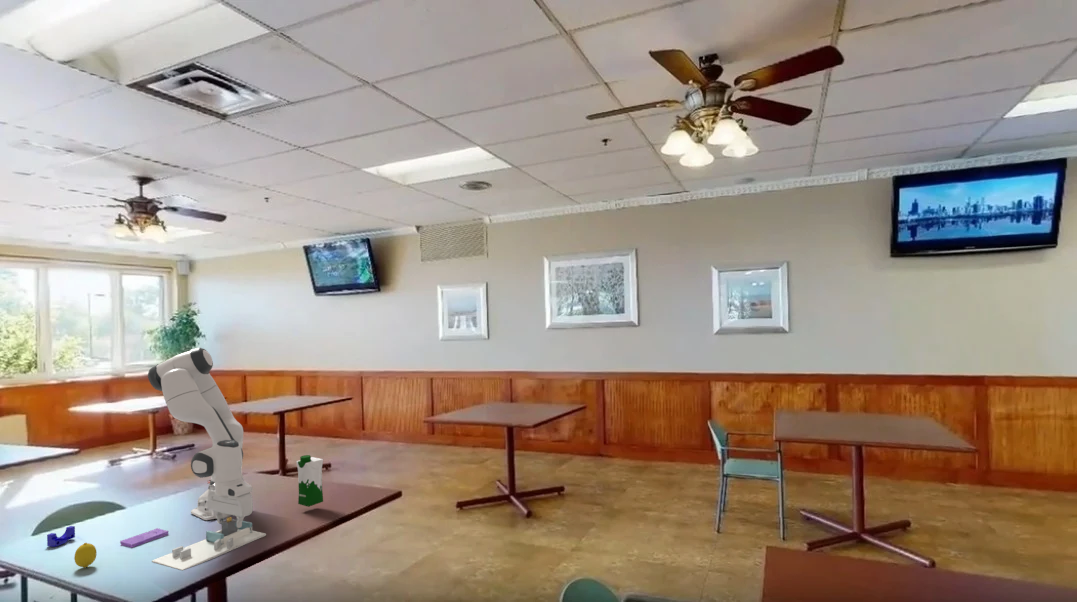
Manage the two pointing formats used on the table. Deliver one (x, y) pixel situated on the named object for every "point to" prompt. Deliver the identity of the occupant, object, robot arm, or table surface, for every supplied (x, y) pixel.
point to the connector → (229, 526)
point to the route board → (203, 551)
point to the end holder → (240, 532)
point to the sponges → (143, 538)
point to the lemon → (85, 555)
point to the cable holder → (55, 541)
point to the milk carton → (310, 480)
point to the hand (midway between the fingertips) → (229, 525)
